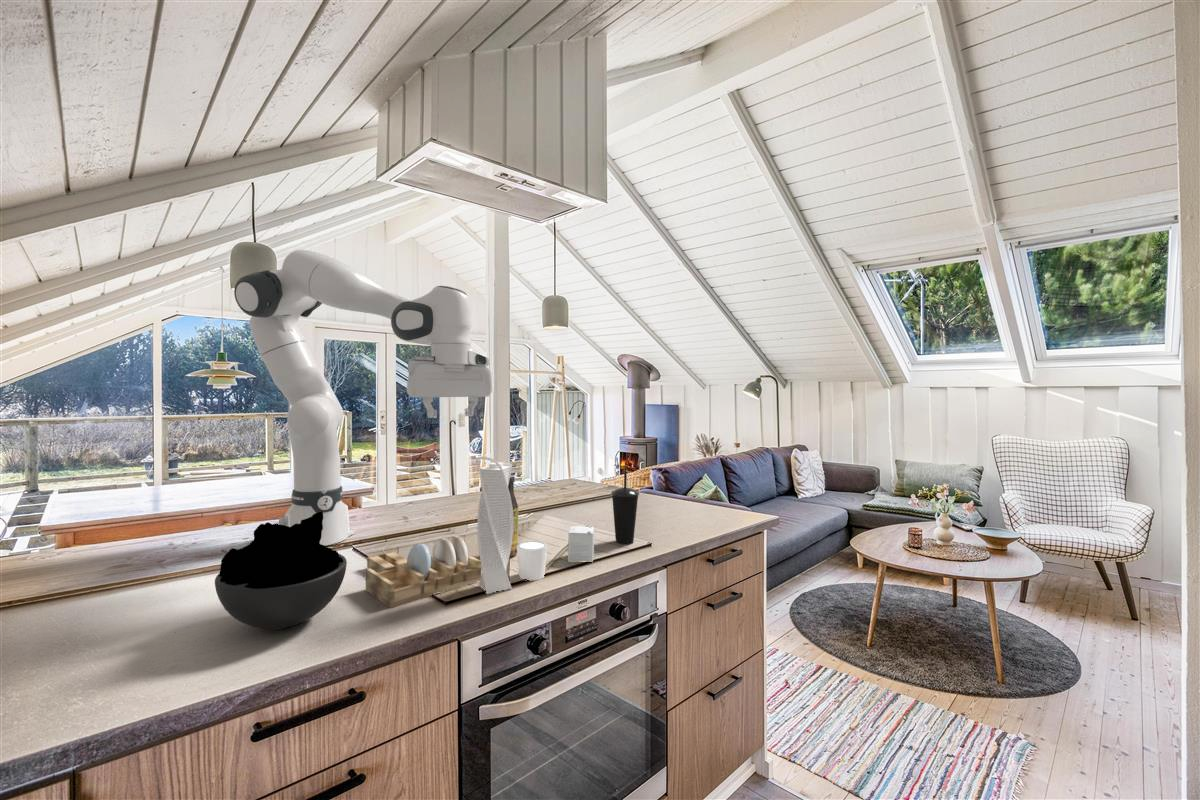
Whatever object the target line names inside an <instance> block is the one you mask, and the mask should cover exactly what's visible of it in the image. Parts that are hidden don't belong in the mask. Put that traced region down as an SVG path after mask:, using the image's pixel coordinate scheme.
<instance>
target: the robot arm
mask: <svg viewBox="0 0 1200 800" xmlns="http://www.w3.org/2000/svg"><path fill="white" fill-rule="evenodd" d="M234 285H235V286H234V291H233V292H234V299H235V301H236V304H237V305H238V307H239V309H240V310H241V311H242V312H243V313H244V314H246V315H247V316H251V317H250V319H249V327H250V331H251V334H252V338H253V340H254V343H255V346H256V348H257V351H258V353H259V354H260V357H261V359H262V361H263V363H264V365H265V367H266V369H267V371H268V373H269V375H270V376H271V378H272V379H271V380H272V381H273V383H274V384H275V386H276V387H277V388H278V389H279V391H280V392H281V393H282V395H283V396H284V397H285V398H286V400H287V402H288V403H289V405H290V409H289V411H288V413H287V418H286V420H287V426H288V430H289V439H290V445H291V450H292V457H293V484H294V485H293V489H292V492H291V499H290V500H291V501H290V502H291V504H290V507H289V508H288V510H287V511H285V513H284V516H283V517H281V516H280V517H278V524H279V525H285V526H289V527H291V526H293V525H294V524H300V523H301V520H304V519H307V518H309V517H312V515H313V514H315V513H318V512H321V511H322V512H323V518H324V519H323V521H322V524H323V530H322V535H321V540H320V544H321V545H324V546H329V545H334V544H338V543H340V542H343V541H344V540H347V538H349V537H350V536H352V535H354V534H356V532H355V529H353V528H350V520H349V519H350V516H349V506H348V505H347V504H346V503H344V502H343V501H342V500H343V496H344V495H343V494H344V491H343V486H342V484H341V455H340V448H339V447H340V446H339V439H338V428H339V427H340V426H341V424H342V423H343V419H344V410H343V407H342V405H341V403H340V402H339V399H338V397H337V395H336V394H335V392H334V390H333V389H332V387H331V386H330V384H329V382H328V380H327V378H325V377H326V376H324V374H323V372H322V371H321V370H320V368H319V365H318V363H317V361H316V359H315V357H314V355H313V353H312V351H311V349H310V347H309V345H308V343H307V341H306V339H305V337H304V335H303V333H302V331H301V329H300V327H299V319H300V317H303V318H308V317H309V316H310V315H311V314H312V313H313V312H314V311H315V310H316V309H318V308H319V307H320V306H321V305H322V304H323V305H325V306H327V307H328V306H329V307H332V308H335V309H340V310H345V311H350V312H358V313H365V314H372V315H377V316H380V317H384V318H387V319H389V320H390V324H391V329H392V332H393V333H394V335H395V336H396V337H397V338H398V339H400V340H402V341H405V342H407V343H413V344H419V345H427V346H431V354H430V355H428V356H427V355H425V356H423V355H414V356H413V357H412V358H410V359H409V360H408V362H407V372H408V375H407V382H406V394H407V395H408V396H409V398H422V404H423V405H424V407H425V409H426V410H427V413H426V414H427V418H429V419H433V418H435V419H436V418H437V417H438V410H437V409H434V407H433V405H432V404H431V403H433V402H434V400H433V398H467V399H468V402H469V404H468V406H467V408H464V416H465V417H474V414H475V413H474V412H475V411H474V410H475V408H476V406H477V405H478V403H479V398H481V397H484V398H485V397H490V395H491V394H492V392H493V381H492V380H493V379H492V372H491V369H490V368H489V366H490V364H491V359H490V357H489V356H487V355H484V354H482V353H480V352H477V351H475V350H473V349H472V343H471V339H470V331H471V327H472V314H471V313H472V312H471V303H470V298H469V295H468V294H467V293H466V292H465V291H464V290H462V289H459V288H455V287H451V286H447V285H437V286H435V287H433V288H432V290H430V292H428V293H426V294H424V295H423V296H420V297H417V298H415V299H412V300H409V299H407V298H404V297H403V296H400V295H398V294H396V293H393V292H390V291H389V290H387V289H386V288H385V287H382V286H381V285H379V284H378V283H376V282H374V281H373V280H371V279H370V278H368V277H366V276H365V275H364V274H362V273H360V271H357V270H356V269H355V268H353V267H351V266H349V265H347V264H346V263H344V262H342V261H340V260H338V259H335V258H333V257H330V256H328V255H326V254H322V253H320V252H316V251H312V250H308V249H296V250H294V251H291V252H290V253H289V254H288V255H286V257H284V260H283V263H282V266H281V268H280V269H276V270H271V271H270V270H262V271H261V270H260V271H257V272H256V271H255V272H252V273H249V274H246V275H244V276H242V277H240V278H238V280H237V281H236V283H235V284H234Z"/></svg>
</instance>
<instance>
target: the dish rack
mask: <svg viewBox="0 0 1200 800" xmlns="http://www.w3.org/2000/svg"><path fill="white" fill-rule="evenodd" d="M481 575H482V568H481V562H480V559H478V558H476V557H474V556H472V555H470V554H469V552H468V548H467V545H466V543H465V541H464V539H463V538H462V537H461V536H460V535H454V536H450V537H448V538H444V537H443V538H440V539H437V540H436V541H435V542H434V545H433V548H432V556H431V567H430V572H429V575H428V577H427V579H426V580H425V581H424V575H422V574H420V573H419V572H417V571H415V570H413V569H412V568H410V567H408V566H406V565H405V564H403V563H401V562H399V561H396V562H395V569H391V570H387V571H383V572H379V573H377V572H375V571H374V570H372V569H371V568H367V567H366V568H365V591H366V592H367V593H369V594H370V595H372V596H373V597H374V598H376V599H377V600H379V601H380V602H381V603H383V604H384V605H385V606H387V607H388V608H389V609H392V608H395V607H400V606H402V605H406V604H409V603H413V602H416V601H418V600H421V599H426V598H429V597H432V594H434V593H437V592H443V591H446V592H448V591H447V590H450V589H453V590H455V589H454V588H456V589H459V588H458V587H460V588H462V587H461V586H463V587H466V586H465V585H467V586H469V585H468V584H470V585H472V583H473V584H475V583H474V582H477V581H480V579H481ZM477 583H478V582H477ZM450 591H451V590H450ZM443 593H444V592H443Z"/></svg>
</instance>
